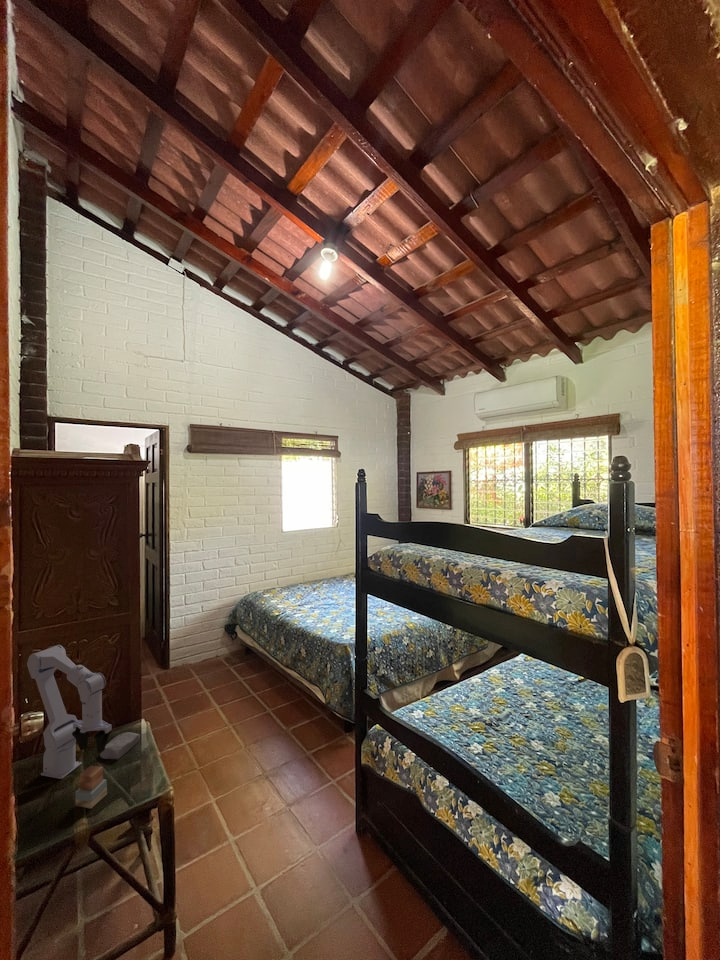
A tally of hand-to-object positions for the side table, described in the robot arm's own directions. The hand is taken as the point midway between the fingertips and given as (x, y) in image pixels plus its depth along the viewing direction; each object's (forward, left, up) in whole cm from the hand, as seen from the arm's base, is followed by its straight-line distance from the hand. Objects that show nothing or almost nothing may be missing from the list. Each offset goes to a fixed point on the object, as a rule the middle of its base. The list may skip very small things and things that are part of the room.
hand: (92, 750), depth 136 cm
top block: (+7, -7, -8) cm, 13 cm away
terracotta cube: (+7, -7, -6) cm, 12 cm away
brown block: (+7, -7, -11) cm, 15 cm away
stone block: (-5, +16, -11) cm, 20 cm away
